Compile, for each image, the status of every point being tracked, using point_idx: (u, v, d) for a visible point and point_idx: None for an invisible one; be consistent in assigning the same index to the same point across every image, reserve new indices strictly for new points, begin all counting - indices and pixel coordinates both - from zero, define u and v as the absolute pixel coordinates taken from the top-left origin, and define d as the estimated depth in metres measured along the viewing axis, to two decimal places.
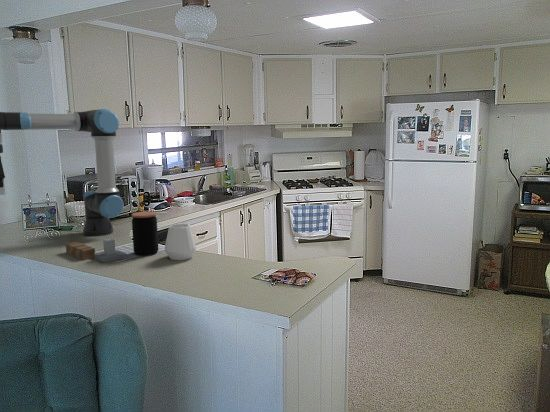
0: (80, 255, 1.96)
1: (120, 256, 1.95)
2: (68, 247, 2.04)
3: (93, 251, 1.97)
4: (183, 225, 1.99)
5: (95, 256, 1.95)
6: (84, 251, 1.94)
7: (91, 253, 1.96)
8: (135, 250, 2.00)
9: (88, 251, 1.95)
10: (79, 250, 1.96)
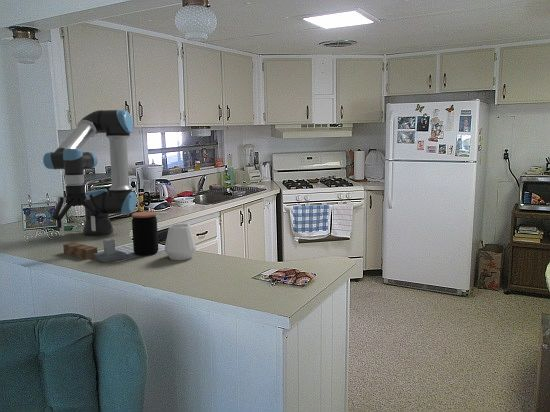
0: (83, 255, 1.96)
1: (120, 256, 1.95)
2: (66, 247, 2.03)
3: (96, 250, 1.98)
4: (183, 225, 1.99)
5: (95, 256, 1.95)
6: (87, 250, 1.95)
7: (94, 252, 1.97)
8: (135, 250, 2.00)
9: (91, 250, 1.96)
10: (81, 250, 1.96)
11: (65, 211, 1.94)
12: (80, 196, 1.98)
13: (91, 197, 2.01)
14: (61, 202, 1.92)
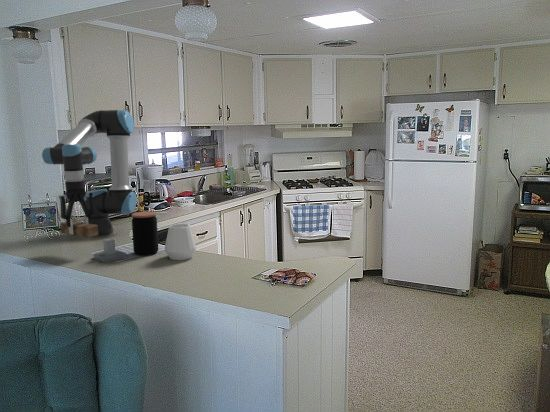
0: (84, 232, 1.95)
1: (120, 256, 1.95)
2: (64, 226, 2.01)
3: (96, 228, 1.98)
4: (183, 225, 1.99)
5: (95, 256, 1.95)
6: (89, 228, 1.94)
7: (95, 230, 1.97)
8: (135, 250, 2.00)
9: (92, 228, 1.96)
10: (82, 227, 1.96)
11: (70, 209, 1.96)
12: (81, 190, 1.98)
13: (90, 195, 2.01)
14: (63, 201, 1.93)
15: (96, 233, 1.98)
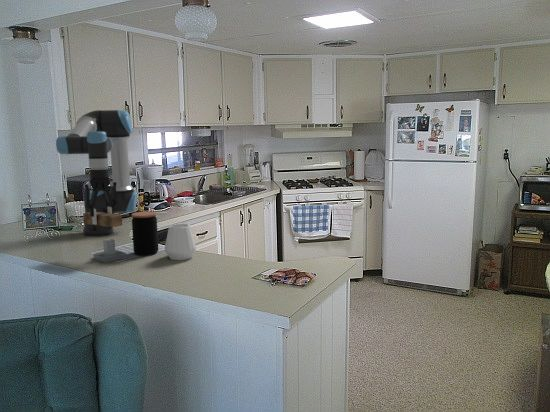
0: (108, 222, 1.89)
1: (120, 256, 1.95)
2: (87, 216, 1.95)
3: (120, 217, 1.91)
4: (183, 225, 1.99)
5: (95, 256, 1.95)
6: (113, 217, 1.88)
7: (119, 219, 1.91)
8: (135, 250, 2.00)
9: (116, 217, 1.90)
10: (105, 217, 1.90)
11: (94, 198, 1.90)
12: (105, 179, 1.92)
13: (114, 185, 1.96)
14: (87, 189, 1.88)
15: (120, 223, 1.92)
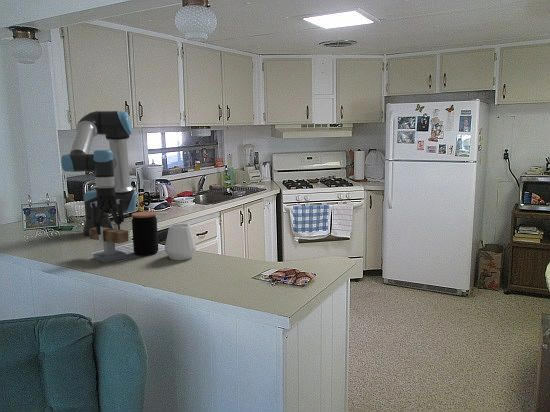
0: (114, 238, 1.90)
1: (120, 256, 1.95)
2: (93, 232, 1.96)
3: (126, 233, 1.92)
4: (183, 225, 1.99)
5: (95, 256, 1.95)
6: (119, 233, 1.89)
7: (125, 235, 1.92)
8: (135, 250, 2.00)
9: (122, 233, 1.90)
10: (112, 233, 1.90)
11: (101, 216, 1.91)
12: (111, 197, 1.93)
13: (121, 202, 1.96)
14: (94, 208, 1.88)
15: (126, 239, 1.92)
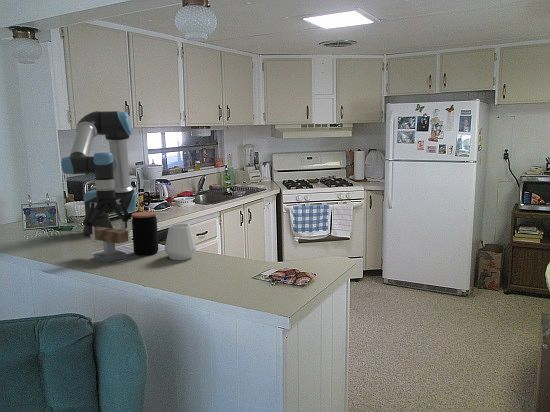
0: (114, 238, 1.90)
1: (120, 256, 1.95)
2: None
3: (126, 233, 1.92)
4: (183, 225, 1.99)
5: (95, 256, 1.95)
6: (119, 233, 1.89)
7: (125, 235, 1.92)
8: (135, 250, 2.00)
9: (122, 233, 1.90)
10: (112, 233, 1.90)
11: (96, 217, 1.89)
12: (110, 201, 1.93)
13: (121, 202, 1.97)
14: (92, 208, 1.88)
15: (126, 239, 1.92)
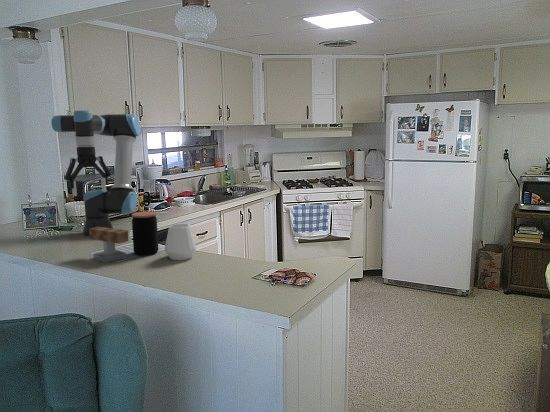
0: (114, 238, 1.90)
1: (120, 256, 1.95)
2: (93, 232, 1.96)
3: (126, 233, 1.92)
4: (183, 225, 1.99)
5: (95, 256, 1.95)
6: (119, 233, 1.89)
7: (125, 235, 1.92)
8: (135, 250, 2.00)
9: (122, 233, 1.90)
10: (112, 233, 1.90)
11: (77, 172, 1.99)
12: (91, 157, 2.03)
13: (101, 159, 2.06)
14: (73, 163, 1.97)
15: (126, 239, 1.92)
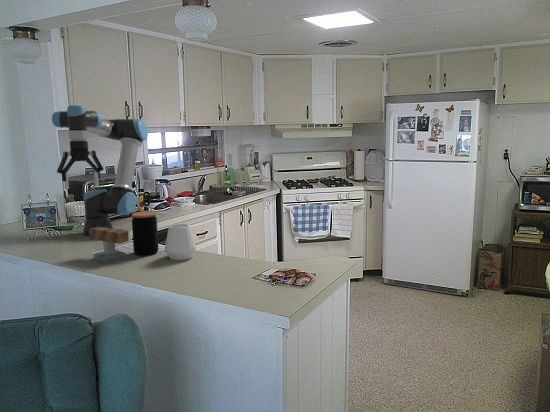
0: (114, 238, 1.90)
1: (120, 256, 1.95)
2: (93, 232, 1.96)
3: (126, 233, 1.92)
4: (183, 225, 1.99)
5: (95, 256, 1.95)
6: (119, 233, 1.89)
7: (125, 235, 1.92)
8: (135, 250, 2.00)
9: (122, 233, 1.90)
10: (112, 233, 1.90)
11: (69, 165, 2.03)
12: (84, 152, 2.07)
13: (94, 153, 2.10)
14: (65, 156, 2.01)
15: (126, 239, 1.92)
